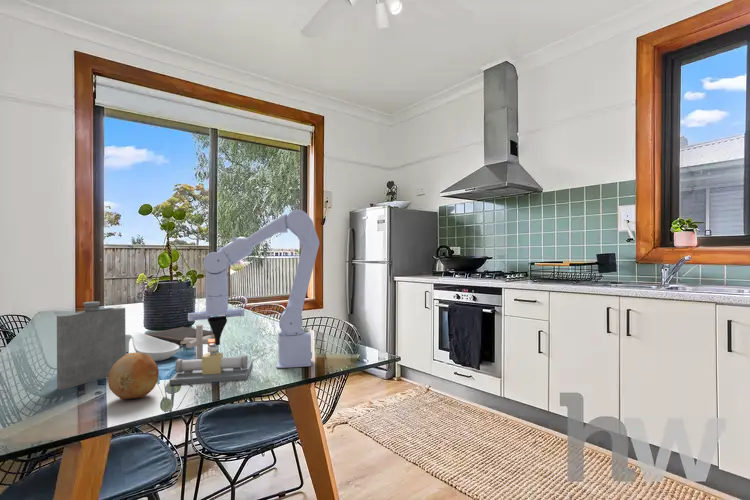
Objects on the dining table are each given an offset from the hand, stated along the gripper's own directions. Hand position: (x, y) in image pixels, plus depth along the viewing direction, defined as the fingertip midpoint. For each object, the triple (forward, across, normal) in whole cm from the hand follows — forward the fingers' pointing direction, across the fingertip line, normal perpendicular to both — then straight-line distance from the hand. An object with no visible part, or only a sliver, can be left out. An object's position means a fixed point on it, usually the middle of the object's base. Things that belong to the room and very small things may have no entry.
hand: (217, 344), depth 112 cm
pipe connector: (+7, +2, -16) cm, 17 cm away
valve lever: (0, +2, +2) cm, 3 cm away
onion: (+7, +20, +14) cm, 25 cm away
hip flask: (+7, +29, -8) cm, 31 cm away
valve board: (+7, +2, +5) cm, 8 cm away
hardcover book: (+8, +3, -52) cm, 53 cm away
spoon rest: (+7, +16, -27) cm, 32 cm away
